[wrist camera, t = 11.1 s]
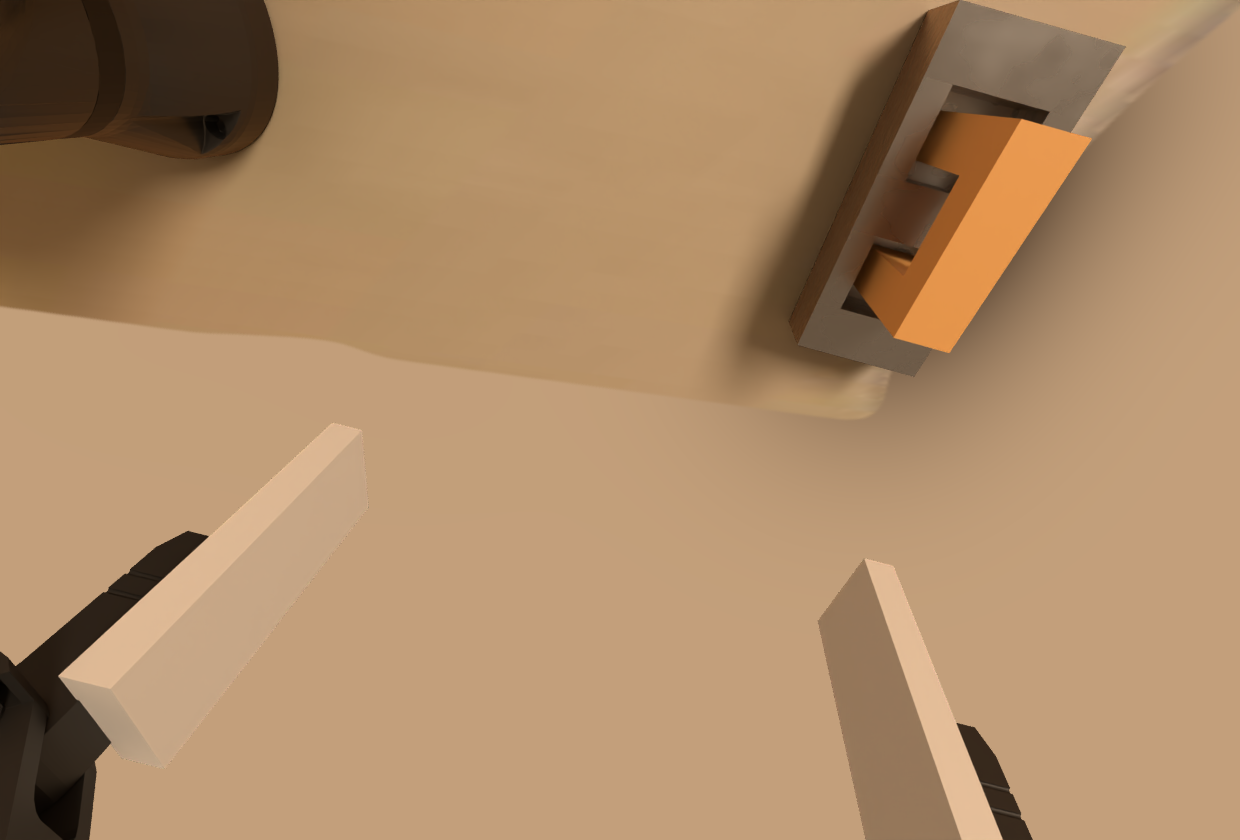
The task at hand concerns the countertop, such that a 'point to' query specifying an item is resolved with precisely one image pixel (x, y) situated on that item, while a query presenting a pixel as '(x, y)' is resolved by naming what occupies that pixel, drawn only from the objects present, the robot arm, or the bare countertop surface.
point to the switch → (914, 191)
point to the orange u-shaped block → (968, 223)
